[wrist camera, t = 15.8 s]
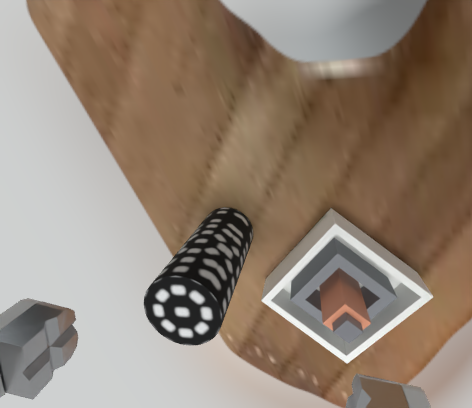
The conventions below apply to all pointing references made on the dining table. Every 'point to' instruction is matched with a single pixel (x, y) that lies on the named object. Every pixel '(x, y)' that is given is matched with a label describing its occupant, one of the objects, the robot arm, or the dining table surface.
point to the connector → (343, 306)
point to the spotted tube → (200, 279)
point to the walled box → (354, 264)
